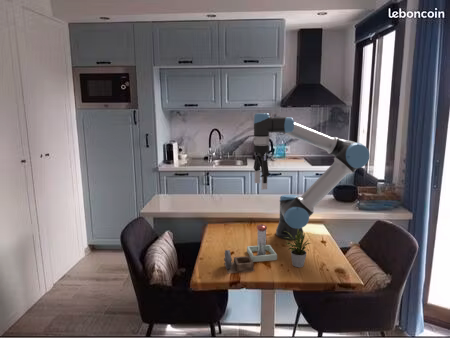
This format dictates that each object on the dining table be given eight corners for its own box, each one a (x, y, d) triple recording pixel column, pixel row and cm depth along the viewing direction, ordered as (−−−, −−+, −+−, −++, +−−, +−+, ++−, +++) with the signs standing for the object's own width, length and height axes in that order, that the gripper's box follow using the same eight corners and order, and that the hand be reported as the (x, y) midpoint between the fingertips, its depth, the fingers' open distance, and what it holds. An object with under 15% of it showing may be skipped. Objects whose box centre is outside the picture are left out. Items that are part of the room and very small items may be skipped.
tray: (269, 252, 169) (269, 244, 168) (276, 262, 158) (277, 254, 157) (247, 254, 167) (247, 246, 166) (252, 264, 156) (252, 256, 155)
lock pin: (264, 253, 165) (265, 224, 162) (267, 258, 160) (267, 227, 157) (255, 254, 164) (255, 224, 161) (258, 258, 160) (258, 228, 157)
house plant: (279, 256, 164) (280, 224, 161) (308, 256, 164) (309, 224, 161) (283, 270, 150) (284, 236, 147) (314, 271, 150) (316, 236, 147)
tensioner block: (249, 263, 157) (249, 244, 155) (254, 274, 147) (255, 253, 145) (222, 266, 155) (222, 246, 153) (226, 276, 145) (226, 256, 143)
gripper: (248, 142, 180) (247, 180, 184) (260, 148, 156) (259, 192, 160) (261, 141, 181) (261, 180, 185) (276, 147, 157) (275, 191, 161)
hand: (260, 186), depth 172 cm, fingers open, 13 cm apart
